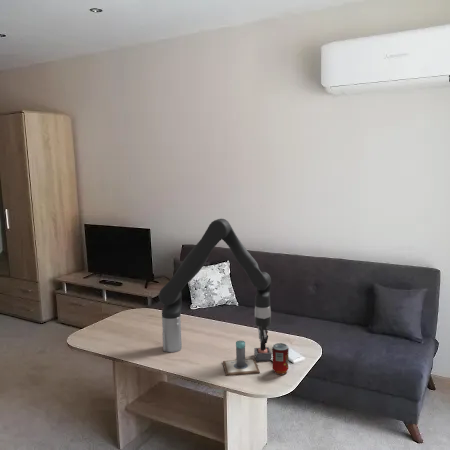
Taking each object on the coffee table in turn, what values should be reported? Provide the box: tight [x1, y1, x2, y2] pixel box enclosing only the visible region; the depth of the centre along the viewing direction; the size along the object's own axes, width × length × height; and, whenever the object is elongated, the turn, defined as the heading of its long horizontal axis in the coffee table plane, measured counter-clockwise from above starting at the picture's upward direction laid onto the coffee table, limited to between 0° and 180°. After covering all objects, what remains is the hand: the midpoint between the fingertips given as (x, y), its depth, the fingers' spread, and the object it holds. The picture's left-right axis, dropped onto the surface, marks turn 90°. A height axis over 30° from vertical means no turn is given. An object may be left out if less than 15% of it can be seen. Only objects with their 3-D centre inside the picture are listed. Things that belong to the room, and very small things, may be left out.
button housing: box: [253, 346, 273, 362], centre depth 213 cm, size 7×7×4 cm
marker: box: [235, 340, 246, 367], centre depth 203 cm, size 4×4×11 cm
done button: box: [258, 347, 267, 353], centre depth 213 cm, size 4×4×2 cm
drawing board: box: [222, 358, 261, 377], centre depth 203 cm, size 15×13×1 cm
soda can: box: [272, 342, 290, 375], centre depth 199 cm, size 7×7×12 cm
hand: (263, 349), depth 213 cm, fingers closed
